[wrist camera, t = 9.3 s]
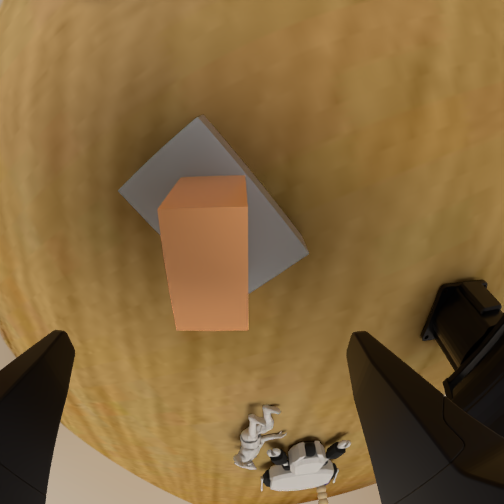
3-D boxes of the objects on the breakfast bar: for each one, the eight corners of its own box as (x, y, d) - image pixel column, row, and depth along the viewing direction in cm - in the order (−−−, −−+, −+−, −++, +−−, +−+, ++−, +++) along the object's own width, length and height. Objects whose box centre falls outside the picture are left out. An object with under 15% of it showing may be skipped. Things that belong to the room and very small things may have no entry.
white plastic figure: (297, 397, 31) (286, 462, 33) (263, 382, 34) (258, 447, 36) (252, 432, 25) (248, 495, 27) (216, 410, 28) (219, 475, 30)
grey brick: (300, 232, 21) (309, 253, 18) (231, 279, 22) (231, 305, 19) (203, 114, 17) (197, 116, 14) (134, 176, 18) (117, 190, 15)
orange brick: (245, 274, 18) (248, 330, 14) (189, 274, 18) (176, 330, 14) (245, 175, 16) (247, 206, 11) (180, 177, 15) (157, 209, 11)
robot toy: (261, 432, 35) (259, 473, 41) (264, 460, 30) (260, 495, 37) (350, 423, 35) (329, 466, 41) (358, 448, 31) (334, 487, 37)
